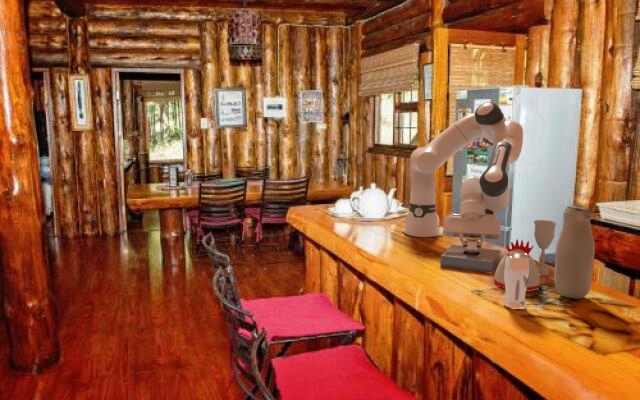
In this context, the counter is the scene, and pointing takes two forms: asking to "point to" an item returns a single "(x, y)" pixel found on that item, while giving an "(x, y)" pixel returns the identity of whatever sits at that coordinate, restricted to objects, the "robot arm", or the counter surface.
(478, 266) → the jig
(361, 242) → the counter surface
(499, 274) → the kitchen timer
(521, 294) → the beer glass
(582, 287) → the glass bottle
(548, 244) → the chalice
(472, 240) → the bushing
